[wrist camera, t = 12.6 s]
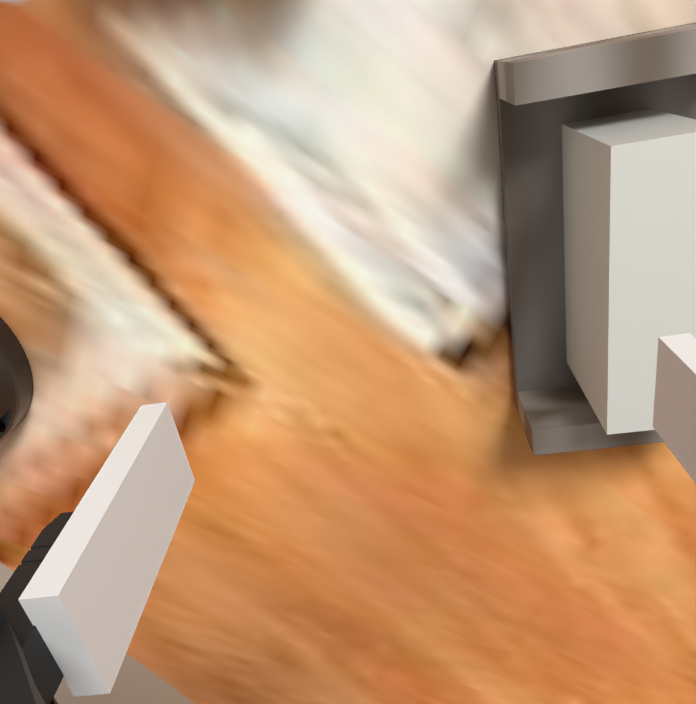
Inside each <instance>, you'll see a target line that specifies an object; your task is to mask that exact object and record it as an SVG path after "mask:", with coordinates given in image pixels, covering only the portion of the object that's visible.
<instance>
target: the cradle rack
mask: <svg viewBox="0 0 696 704" xmlns="http://www.w3.org/2000/svg"><path fill="white" fill-rule="evenodd" d="M494 64H495V80H496V96H497V111H498V127H499V143H500V159H501V174H502V190H503V206H504V221H505V237H506V253H507V269H508V284H509V300H510V316H511V332H512V347H513V363H514V379H515V394H516V407H517V410H518V413H519V416H520V419H521V421H522V424H523V427H524V430H525V433H526V436H527V439H528V442H529V445H530V447H531V450H532V453H533V455H542V454H552V453H562V452H572V451H581V450H591V449H601V448H611V447H621V446H631V445H640V444H650V443H660V442H664V441H663V440H662V438H661V437H660V436H659V434H658V433H657V432H656V430H648V431H638V432H628V433H619V434H609V435H607V434H606V432H605V430H604V428H603V427H602V425H601V423H600V421H599V419H598V418H597V416H596V414H595V412H594V410H593V409H592V407H591V405H590V403H589V401H588V400H587V398H586V396H585V394H584V392H583V391H582V389H581V387H580V385H579V383H578V382H577V380H576V378H575V376H574V374H573V373H572V371H571V369H570V367H569V365H568V364H567V358H566V308H565V259H564V209H563V159H562V124H566V123H572V122H578V121H584V120H589V119H595V118H601V117H607V116H613V115H618V114H624V113H630V112H636V111H642V110H647V109H653V110H657V111H662V112H666V113H670V114H674V115H679V116H683V117H687V118H692V119H696V23H691V24H685V25H680V26H675V27H670V28H664V29H659V30H654V31H648V32H643V33H638V34H633V35H627V36H622V37H617V38H611V39H606V40H601V41H596V42H590V43H585V44H580V45H574V46H569V47H564V48H559V49H553V50H548V51H543V52H537V53H532V54H527V55H522V56H516V57H511V58H506V59H500V60H495V61H494Z"/></svg>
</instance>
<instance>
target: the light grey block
mask: <svg viewBox="0 0 696 704" xmlns="http://www.w3.org/2000/svg"><path fill="white" fill-rule="evenodd" d="M562 159H563V209H564V259H565V308H566V358H567V364H568V365H569V367H570V369H571V371H572V373H573V374H574V376H575V378H576V380H577V382H578V383H579V385H580V387H581V389H582V391H583V392H584V394H585V396H586V398H587V400H588V401H589V403H590V405H591V407H592V409H593V410H594V412H595V414H596V416H597V418H598V419H599V421H600V423H601V425H602V427H603V428H604V430H605V432H606V434H607V435H609V434H619V433H628V432H638V431H648V430H655V429H654V428H653V413H654V398H655V383H656V368H657V353H658V338H659V337H663V336H671V335H678V334H686V333H690V334H692V335H693V336H694V337H695V338H696V119H692V118H687V117H683V116H679V115H674V114H670V113H666V112H662V111H657V110H653V109H647V110H642V111H636V112H630V113H624V114H618V115H613V116H607V117H601V118H595V119H589V120H584V121H578V122H572V123H566V124H562Z"/></svg>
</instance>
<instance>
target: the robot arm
mask: <svg viewBox="0 0 696 704" xmlns="http://www.w3.org/2000/svg"><path fill="white" fill-rule="evenodd" d="M31 398H32V375H31V370H30V366H29V363H28V360H27V357H26V355H25V353H24V350H23V348H22V346H21V345H20V343H19V341H18V339H17V338H16V336H15V335H14V333H13V332H12V331H11V329H10V328H9V327H8V325H7V324H6V323H5V322H4V321H3V320H2V319H1V318H0V442H1V441H2V440H3V439H4V438H6V437H7V436H8V435H9V434H10V433H11V432H12V431H13V430H14V429H15V428H16V427H17V426H18V425H19V423H20V422H21V421H22V420H23V418H24V417H25V415H26V413H27V411H28V408H29V406H30V402H31ZM653 428H654V429H655V430H656V432H657V433H658V434H659V436H660V437H661V438H662V440H663V441H664V442H665V444H666V445H667V446H668V448H669V449H670V450H671V452H672V453H673V454H674V456H675V457H676V458H677V460H678V461H679V462H680V464H681V465H682V466H683V468H684V469H685V470H686V472H687V473H688V474H689V476H690V477H691V478H692V480H693V481H694V482H695V484H696V338H695V337H694V336H693V335H692V334H690V333H686V334H678V335H671V336H663V337H659V338H658V353H657V368H656V383H655V398H654V413H653ZM194 482H195V479H194V477H193V474H192V471H191V468H190V465H189V462H188V459H187V456H186V454H185V451H184V448H183V445H182V442H181V439H180V436H179V434H178V431H177V428H176V425H175V422H174V419H173V416H172V414H171V411H170V408H169V405H168V402H165V403H157V404H150V405H142V406H141V407H140V408H139V410H138V411H137V413H136V415H135V416H134V418H133V419H132V421H131V422H130V424H129V426H128V427H127V429H126V430H125V432H124V434H123V435H122V437H121V438H120V440H119V441H118V443H117V445H116V446H115V448H114V449H113V451H112V452H111V454H110V456H109V457H108V459H107V460H106V462H105V463H104V465H103V467H102V468H101V470H100V471H99V473H98V475H97V476H96V478H95V479H94V481H93V482H92V484H91V486H90V487H89V489H88V490H87V492H86V493H85V495H84V497H83V498H82V500H81V501H80V503H79V505H78V506H77V508H76V509H75V511H74V512H67V513H61V514H60V515H59V516H58V517H57V518H55V519H54V520H53V521H52V522H51V523H50V524H49V525H48V526H46V527H45V528H44V529H43V530H42V532H41V533H40V535H39V536H38V538H37V539H36V541H35V542H34V543H33V545H32V546H31V550H30V551H28V552H27V554H26V555H25V557H24V558H23V560H22V561H21V562H22V564H21V565H19V566H18V567H17V569H16V570H15V572H14V573H13V575H12V576H11V578H10V579H9V581H8V582H7V583H6V585H5V586H4V588H3V589H2V591H1V593H0V704H58V703H57V702H56V700H55V698H54V695H55V693H56V691H57V689H58V687H59V684H60V683H61V680H62V678H64V680H65V682H66V684H67V686H68V687H69V689H70V691H71V693H72V694H73V696H86V695H98V694H109V693H110V692H111V689H112V687H113V684H114V682H115V680H116V677H117V675H118V672H119V669H120V667H121V664H122V662H123V659H124V657H125V655H126V652H127V650H128V647H129V645H130V642H131V640H132V637H133V635H134V632H135V630H136V627H137V625H138V622H139V620H140V617H141V615H142V612H143V610H144V607H145V605H146V602H147V600H148V597H149V594H150V592H151V589H152V587H153V584H154V582H155V579H156V577H157V574H158V572H159V569H160V567H161V564H162V562H163V559H164V557H165V554H166V552H167V549H168V547H169V544H170V542H171V539H172V537H173V534H174V532H175V529H176V527H177V524H178V522H179V519H180V517H181V514H182V512H183V509H184V507H185V504H186V502H187V499H188V497H189V494H190V492H191V489H192V487H193V484H194Z"/></svg>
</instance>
